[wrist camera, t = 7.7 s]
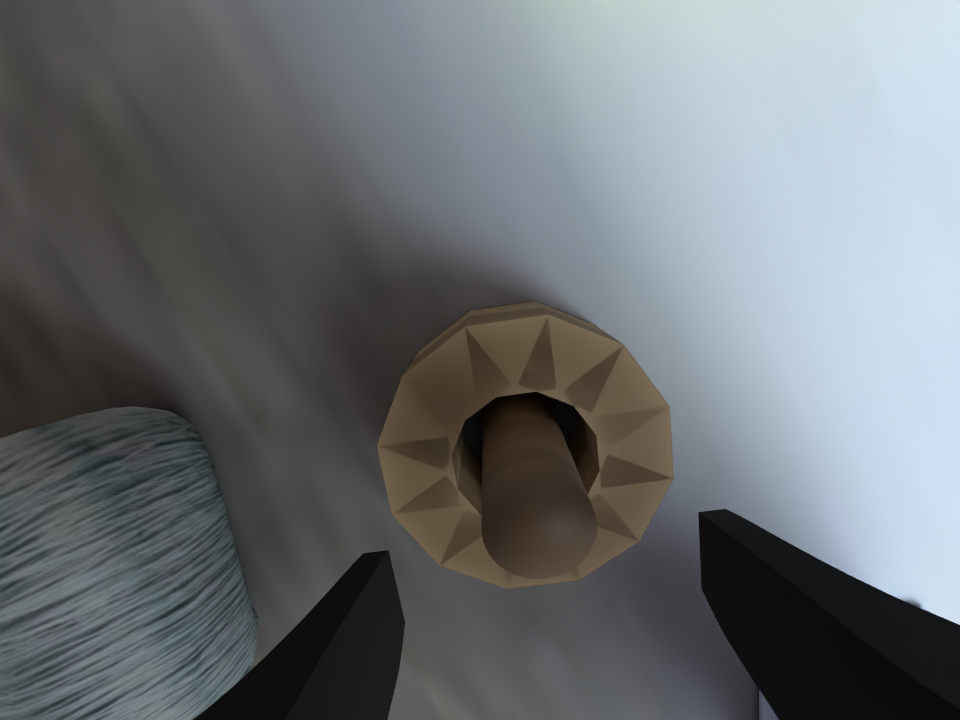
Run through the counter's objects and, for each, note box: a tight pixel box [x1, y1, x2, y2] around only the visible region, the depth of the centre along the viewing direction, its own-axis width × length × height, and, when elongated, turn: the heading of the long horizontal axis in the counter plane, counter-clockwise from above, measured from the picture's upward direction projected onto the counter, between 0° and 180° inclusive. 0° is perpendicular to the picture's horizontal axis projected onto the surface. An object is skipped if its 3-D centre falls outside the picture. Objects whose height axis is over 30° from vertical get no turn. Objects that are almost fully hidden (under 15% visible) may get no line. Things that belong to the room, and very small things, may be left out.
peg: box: [481, 392, 597, 579], centre depth 16 cm, size 3×3×8 cm
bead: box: [377, 301, 674, 589], centre depth 17 cm, size 10×10×4 cm
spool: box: [0, 406, 258, 720], centre depth 17 cm, size 14×10×10 cm
